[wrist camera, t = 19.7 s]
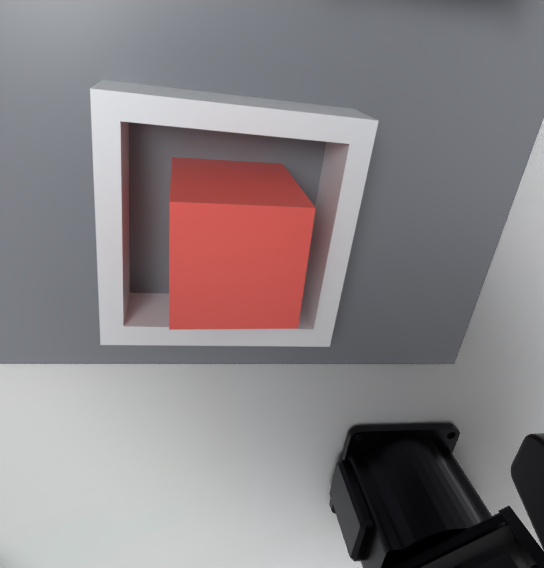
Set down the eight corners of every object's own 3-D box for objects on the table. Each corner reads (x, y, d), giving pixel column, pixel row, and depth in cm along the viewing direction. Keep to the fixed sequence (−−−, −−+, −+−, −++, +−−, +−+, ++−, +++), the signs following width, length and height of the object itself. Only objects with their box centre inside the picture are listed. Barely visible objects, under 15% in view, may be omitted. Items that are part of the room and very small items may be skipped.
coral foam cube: (282, 163, 18) (315, 207, 14) (271, 261, 20) (298, 328, 15) (172, 157, 17) (169, 201, 13) (171, 259, 19) (169, 329, 15)
